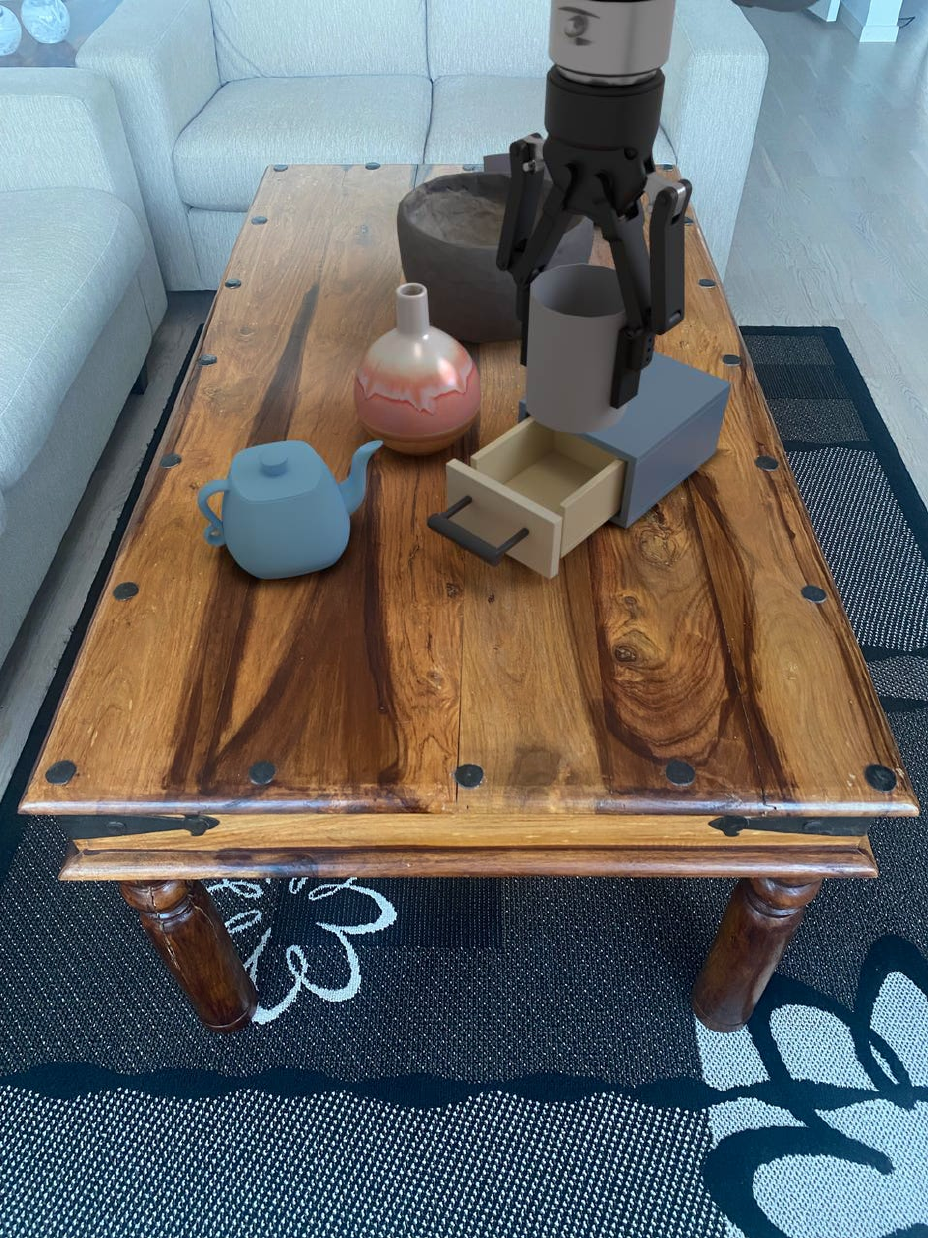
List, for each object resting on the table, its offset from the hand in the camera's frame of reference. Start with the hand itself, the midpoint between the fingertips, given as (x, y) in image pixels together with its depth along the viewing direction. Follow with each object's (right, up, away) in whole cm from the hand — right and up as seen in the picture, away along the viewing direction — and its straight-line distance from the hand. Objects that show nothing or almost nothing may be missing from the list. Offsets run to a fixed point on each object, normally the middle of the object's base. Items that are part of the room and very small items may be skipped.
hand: (577, 378), depth 75 cm
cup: (0, -2, +2) cm, 3 cm away
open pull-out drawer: (-3, -10, +17) cm, 20 cm away
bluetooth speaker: (+5, +41, +66) cm, 78 cm away
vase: (-14, +1, +28) cm, 32 cm away
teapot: (-25, -12, +17) cm, 33 cm away
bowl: (-5, +20, +46) cm, 50 cm away
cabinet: (+7, -3, +25) cm, 26 cm away
